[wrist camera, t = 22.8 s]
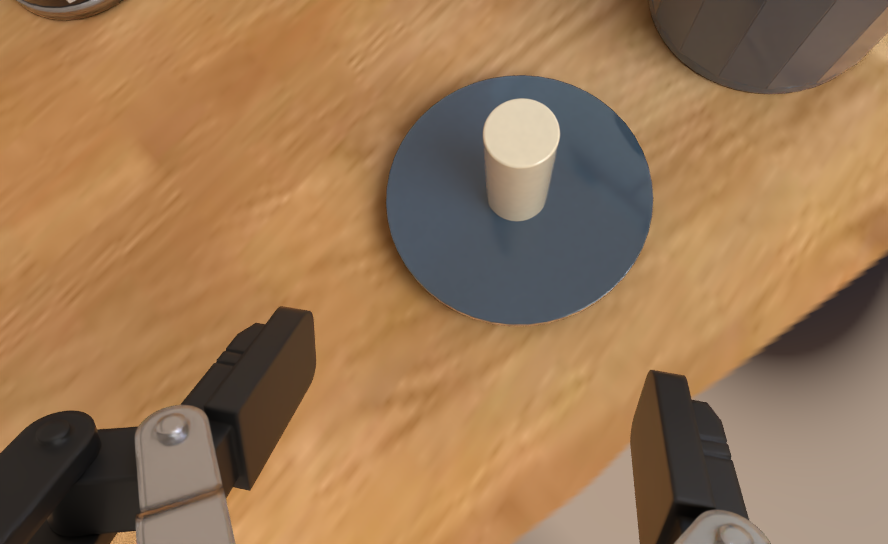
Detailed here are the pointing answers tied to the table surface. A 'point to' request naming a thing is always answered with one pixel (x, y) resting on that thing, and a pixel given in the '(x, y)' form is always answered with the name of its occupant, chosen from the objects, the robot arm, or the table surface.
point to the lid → (519, 200)
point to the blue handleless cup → (770, 39)
